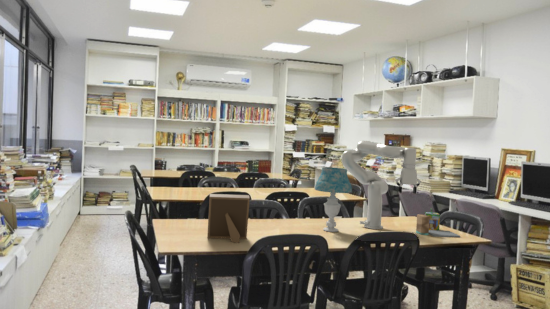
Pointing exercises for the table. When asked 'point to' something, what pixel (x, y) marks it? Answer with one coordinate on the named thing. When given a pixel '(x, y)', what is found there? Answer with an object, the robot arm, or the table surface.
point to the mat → (442, 233)
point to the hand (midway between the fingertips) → (407, 193)
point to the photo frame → (228, 216)
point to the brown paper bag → (422, 224)
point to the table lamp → (333, 192)
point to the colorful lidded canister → (433, 220)
